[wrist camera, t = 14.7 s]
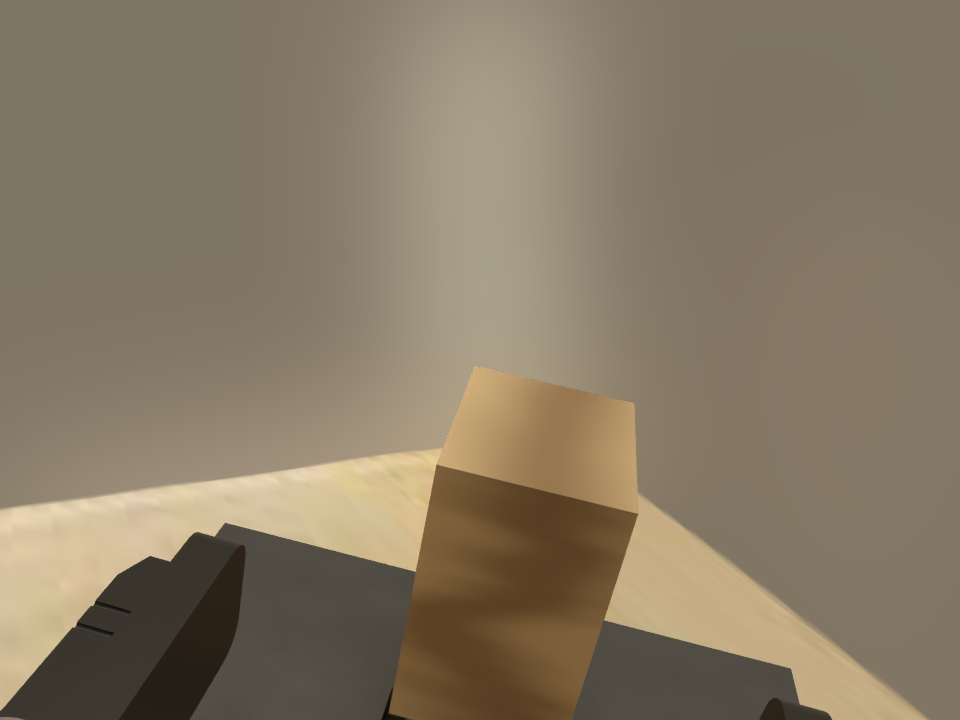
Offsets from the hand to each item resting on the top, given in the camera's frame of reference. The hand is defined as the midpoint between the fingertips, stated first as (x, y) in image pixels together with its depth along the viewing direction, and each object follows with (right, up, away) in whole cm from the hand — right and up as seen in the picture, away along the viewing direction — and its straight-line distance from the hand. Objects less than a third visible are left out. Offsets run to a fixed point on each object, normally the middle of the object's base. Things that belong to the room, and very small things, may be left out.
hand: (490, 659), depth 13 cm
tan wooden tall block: (-1, -9, +16) cm, 18 cm away
